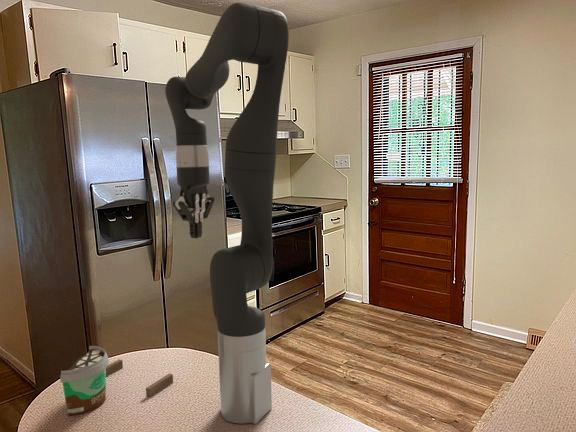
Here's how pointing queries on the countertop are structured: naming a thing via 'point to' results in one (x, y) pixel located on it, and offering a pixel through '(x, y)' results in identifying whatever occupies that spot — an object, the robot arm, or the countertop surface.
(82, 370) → the food container
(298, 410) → the countertop surface
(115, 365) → the slot rails
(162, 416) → the countertop surface
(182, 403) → the countertop surface
